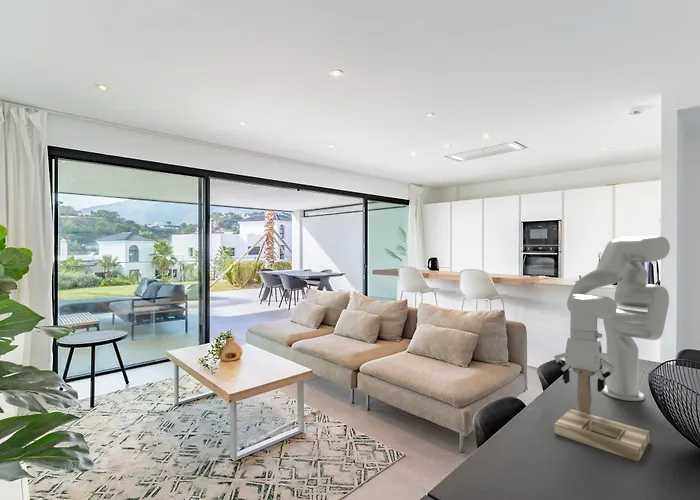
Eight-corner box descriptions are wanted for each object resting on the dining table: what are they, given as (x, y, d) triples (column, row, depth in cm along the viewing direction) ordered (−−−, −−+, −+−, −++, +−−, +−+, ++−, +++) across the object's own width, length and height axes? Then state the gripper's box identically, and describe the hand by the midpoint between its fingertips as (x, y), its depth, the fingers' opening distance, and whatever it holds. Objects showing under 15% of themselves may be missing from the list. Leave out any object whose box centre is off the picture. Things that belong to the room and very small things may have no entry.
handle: (592, 419, 119) (591, 372, 119) (570, 411, 124) (570, 367, 124) (598, 414, 122) (598, 369, 122) (577, 408, 127) (576, 364, 127)
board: (570, 418, 120) (570, 408, 120) (649, 441, 105) (649, 430, 105) (554, 433, 110) (554, 423, 110) (638, 461, 96) (638, 449, 96)
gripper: (617, 337, 119) (617, 391, 119) (558, 328, 132) (558, 377, 132) (611, 341, 114) (611, 397, 114) (551, 331, 127) (550, 382, 126)
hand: (582, 386), depth 123 cm, fingers open, 9 cm apart
